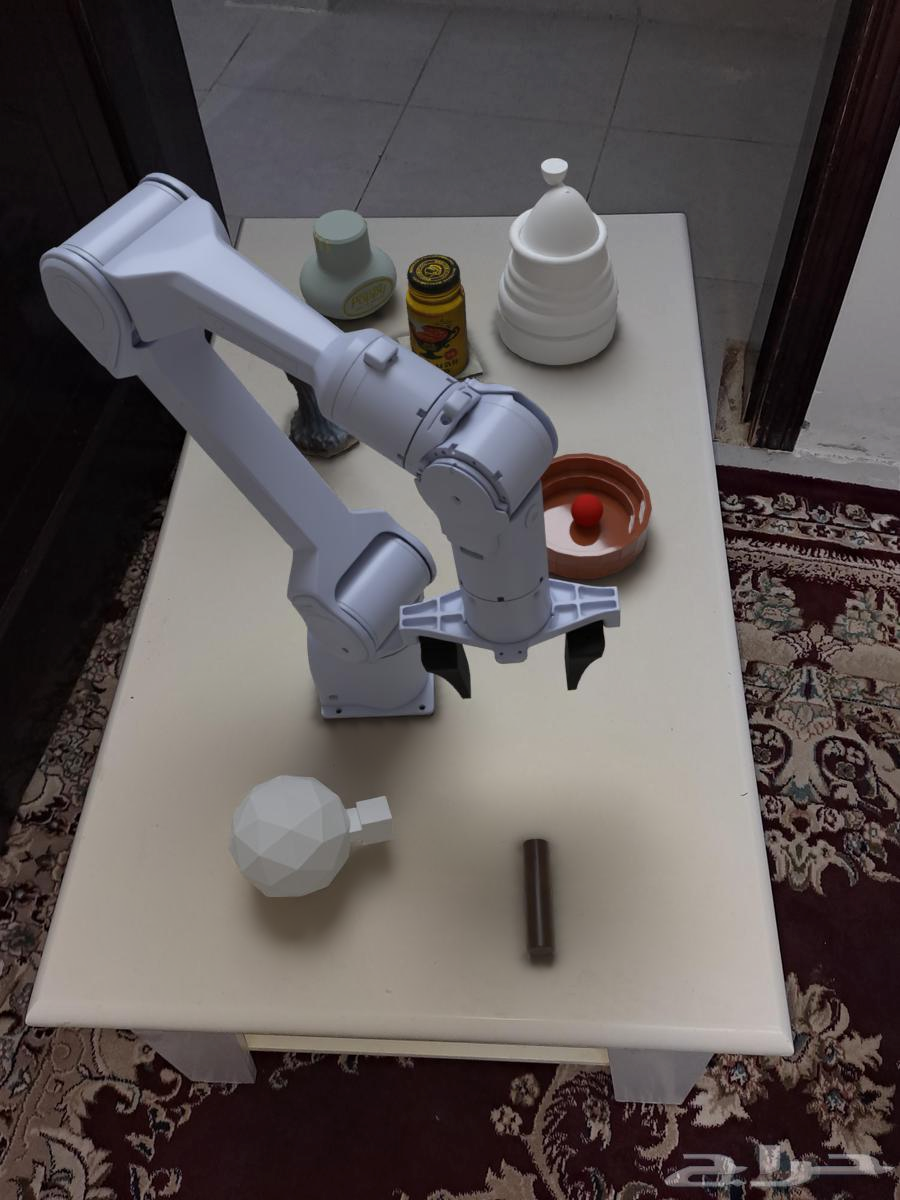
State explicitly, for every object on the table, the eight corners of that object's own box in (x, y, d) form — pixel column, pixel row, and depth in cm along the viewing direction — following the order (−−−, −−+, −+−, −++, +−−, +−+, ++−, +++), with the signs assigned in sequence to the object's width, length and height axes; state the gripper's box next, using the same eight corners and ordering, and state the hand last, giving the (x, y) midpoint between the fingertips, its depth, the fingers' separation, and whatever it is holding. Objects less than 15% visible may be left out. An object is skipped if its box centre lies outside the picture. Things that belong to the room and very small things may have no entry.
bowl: (519, 585, 90) (520, 559, 87) (512, 484, 97) (512, 456, 94) (654, 579, 90) (660, 553, 87) (637, 478, 97) (642, 450, 94)
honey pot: (479, 307, 112) (475, 159, 98) (581, 275, 115) (592, 126, 100) (528, 379, 105) (531, 231, 91) (636, 343, 108) (656, 193, 93)
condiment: (418, 390, 105) (408, 297, 95) (397, 339, 110) (386, 246, 100) (483, 373, 106) (480, 280, 96) (459, 323, 111) (455, 230, 101)
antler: (367, 411, 104) (331, 196, 83) (353, 468, 100) (312, 255, 79) (260, 405, 105) (198, 192, 85) (242, 461, 101) (172, 250, 80)
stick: (530, 849, 77) (535, 956, 72) (517, 841, 75) (522, 949, 71) (553, 844, 76) (560, 951, 71) (540, 836, 74) (546, 945, 70)
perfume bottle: (242, 936, 72) (404, 899, 74) (224, 854, 66) (399, 816, 69) (231, 845, 78) (380, 813, 81) (214, 763, 73) (374, 732, 76)
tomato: (570, 521, 94) (585, 538, 92) (561, 499, 92) (577, 516, 90) (596, 505, 94) (612, 521, 92) (588, 482, 92) (604, 498, 90)
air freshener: (330, 340, 111) (316, 264, 102) (292, 302, 115) (275, 226, 106) (411, 299, 114) (403, 222, 106) (371, 264, 118) (360, 187, 110)
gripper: (385, 627, 60) (420, 738, 71) (627, 606, 59) (625, 722, 69) (388, 539, 64) (420, 656, 75) (613, 517, 63) (613, 640, 74)
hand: (518, 682), depth 73 cm, fingers open, 7 cm apart
